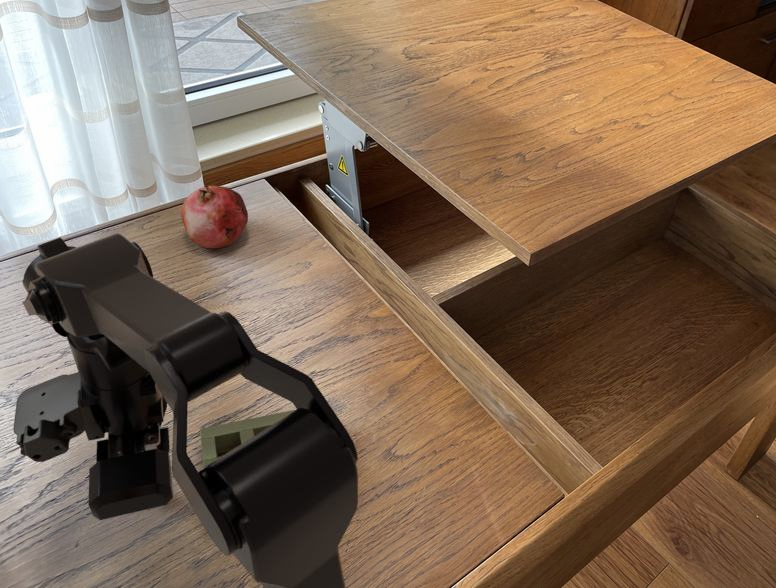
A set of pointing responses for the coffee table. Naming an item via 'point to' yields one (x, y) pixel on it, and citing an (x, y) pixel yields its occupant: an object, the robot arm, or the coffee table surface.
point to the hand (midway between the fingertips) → (144, 464)
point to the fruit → (214, 216)
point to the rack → (233, 434)
